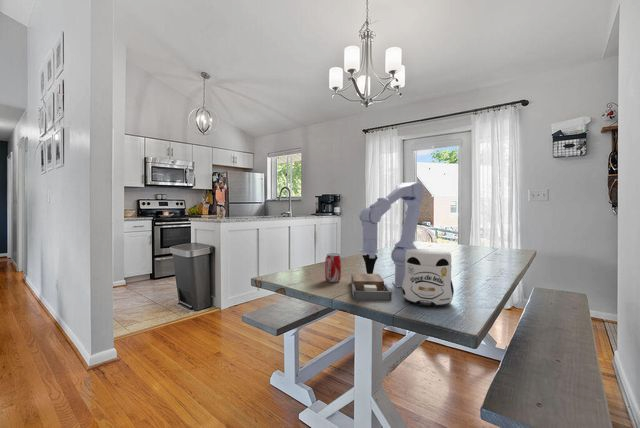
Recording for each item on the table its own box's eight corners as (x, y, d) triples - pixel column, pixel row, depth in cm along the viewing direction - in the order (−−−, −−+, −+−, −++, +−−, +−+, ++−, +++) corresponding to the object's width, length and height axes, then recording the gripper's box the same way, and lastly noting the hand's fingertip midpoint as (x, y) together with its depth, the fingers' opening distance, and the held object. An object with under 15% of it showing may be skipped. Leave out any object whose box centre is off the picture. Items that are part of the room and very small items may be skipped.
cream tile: (376, 288, 121) (376, 292, 121) (375, 284, 126) (375, 288, 126) (364, 287, 121) (364, 291, 122) (363, 284, 126) (363, 288, 126)
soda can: (340, 283, 141) (341, 256, 140) (324, 282, 141) (325, 255, 141) (340, 279, 148) (341, 253, 147) (325, 278, 148) (325, 252, 148)
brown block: (378, 283, 141) (379, 274, 141) (384, 291, 128) (384, 281, 128) (351, 282, 141) (351, 273, 141) (353, 291, 128) (353, 281, 128)
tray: (386, 291, 128) (386, 284, 128) (391, 300, 117) (391, 291, 117) (351, 291, 128) (351, 283, 128) (353, 299, 117) (353, 291, 117)
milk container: (419, 312, 104) (420, 257, 103) (393, 297, 121) (393, 249, 120) (464, 308, 109) (465, 255, 108) (433, 293, 126) (433, 247, 125)
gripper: (358, 236, 133) (357, 269, 134) (361, 241, 119) (361, 277, 119) (375, 236, 133) (374, 269, 134) (380, 241, 119) (380, 278, 119)
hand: (369, 273), depth 127 cm, fingers closed
